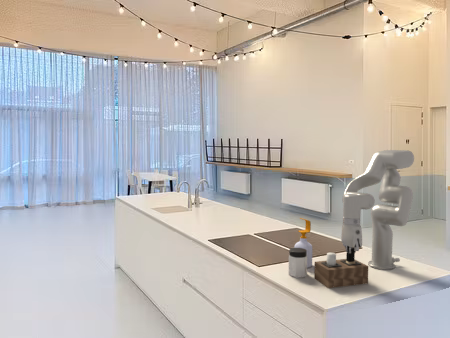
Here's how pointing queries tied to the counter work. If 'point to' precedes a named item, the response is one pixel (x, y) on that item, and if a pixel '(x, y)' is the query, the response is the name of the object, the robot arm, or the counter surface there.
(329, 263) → the white peg
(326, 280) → the walnut block
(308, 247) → the soap bottle
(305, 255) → the jar
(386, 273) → the counter surface
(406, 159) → the robot arm
